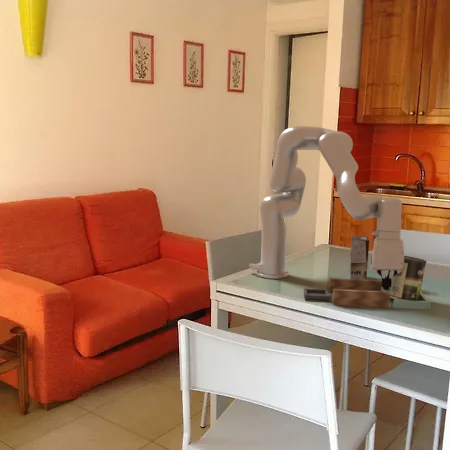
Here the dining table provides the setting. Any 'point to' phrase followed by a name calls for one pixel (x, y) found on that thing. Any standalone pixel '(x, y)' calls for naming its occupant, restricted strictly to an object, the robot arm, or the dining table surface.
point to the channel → (358, 292)
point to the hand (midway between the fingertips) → (386, 289)
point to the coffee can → (408, 280)
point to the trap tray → (316, 294)
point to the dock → (413, 303)
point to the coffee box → (359, 257)
